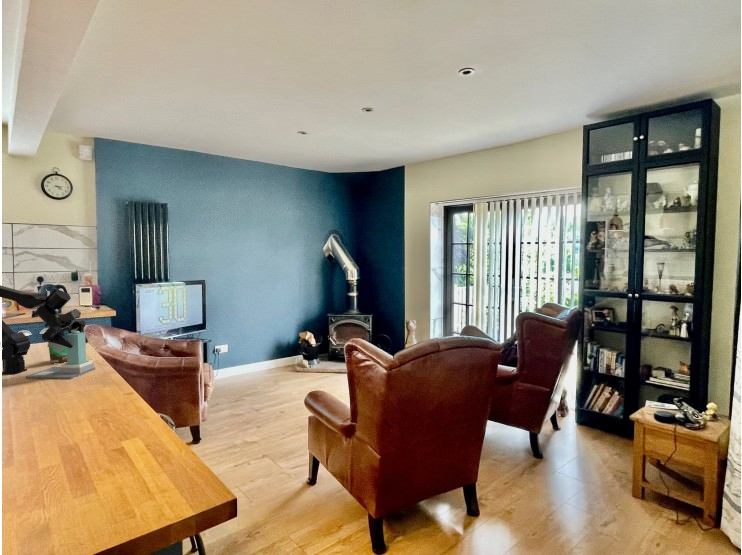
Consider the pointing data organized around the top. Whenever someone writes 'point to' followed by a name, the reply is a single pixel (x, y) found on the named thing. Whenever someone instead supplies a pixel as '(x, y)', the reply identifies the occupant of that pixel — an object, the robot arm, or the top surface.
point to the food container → (57, 353)
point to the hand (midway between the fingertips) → (79, 344)
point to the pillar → (76, 348)
